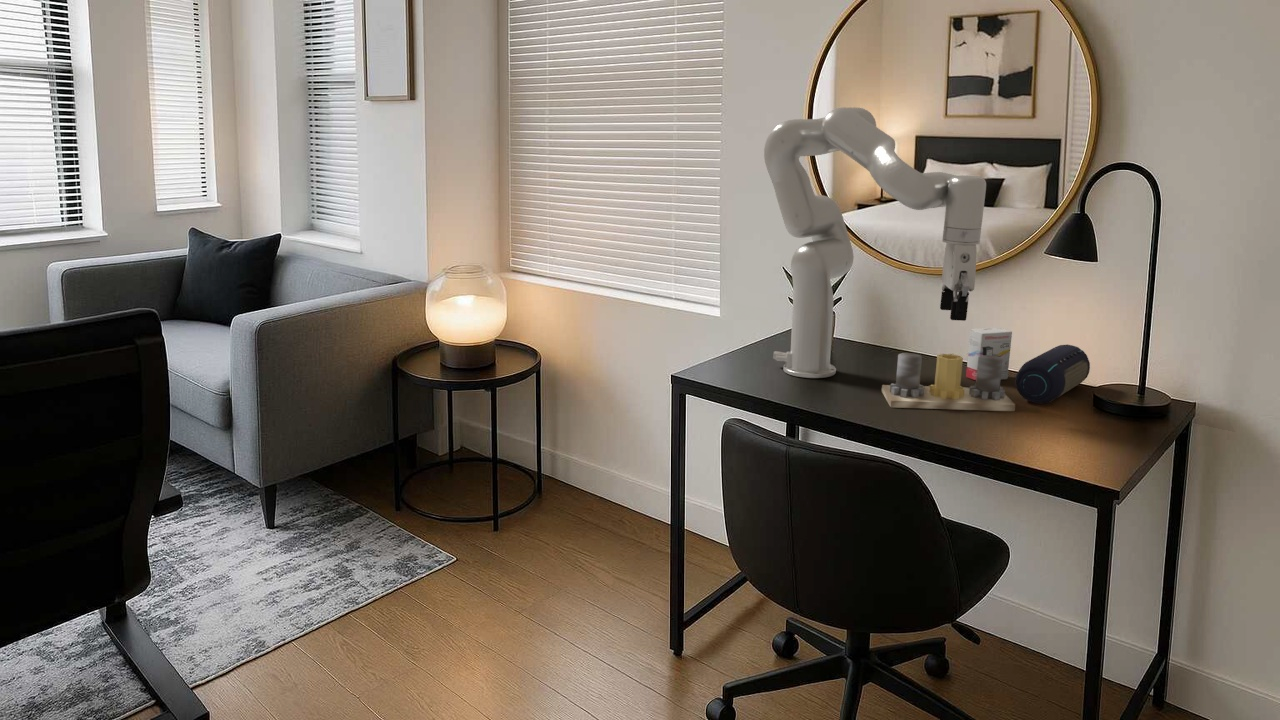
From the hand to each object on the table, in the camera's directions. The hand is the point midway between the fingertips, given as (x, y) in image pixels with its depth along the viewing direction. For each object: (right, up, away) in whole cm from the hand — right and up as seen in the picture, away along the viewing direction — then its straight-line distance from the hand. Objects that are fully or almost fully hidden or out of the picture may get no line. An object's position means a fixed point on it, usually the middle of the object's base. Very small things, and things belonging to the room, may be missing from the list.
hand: (952, 314), depth 209 cm
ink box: (+15, -14, +23) cm, 31 cm away
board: (0, -19, +5) cm, 19 cm away
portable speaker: (+26, -18, +11) cm, 33 cm away
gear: (0, -17, +5) cm, 18 cm away
